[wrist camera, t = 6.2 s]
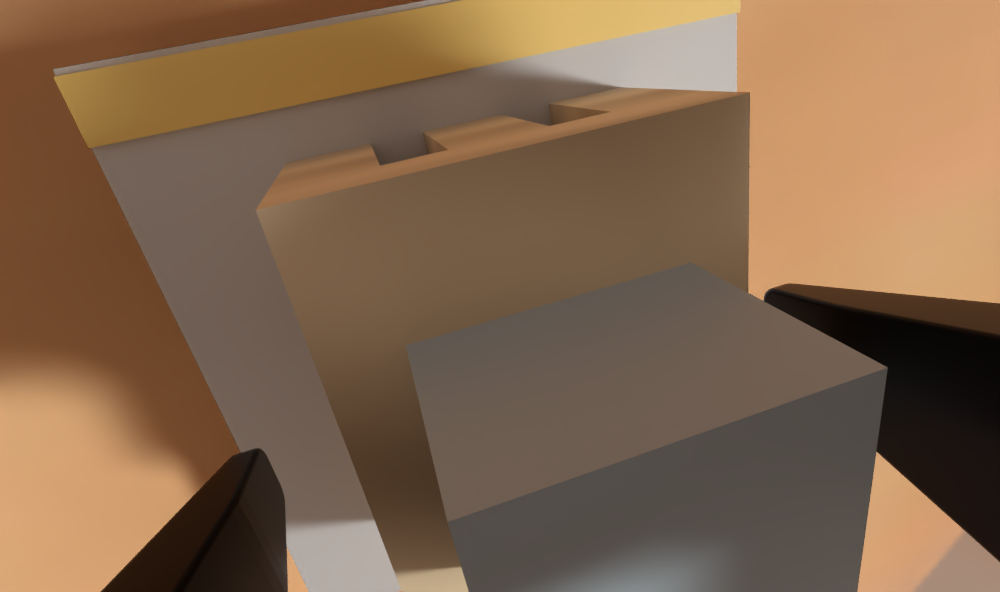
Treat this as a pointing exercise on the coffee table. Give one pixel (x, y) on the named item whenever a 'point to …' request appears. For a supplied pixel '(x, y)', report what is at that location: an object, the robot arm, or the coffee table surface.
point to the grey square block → (652, 443)
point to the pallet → (490, 259)
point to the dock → (325, 129)
